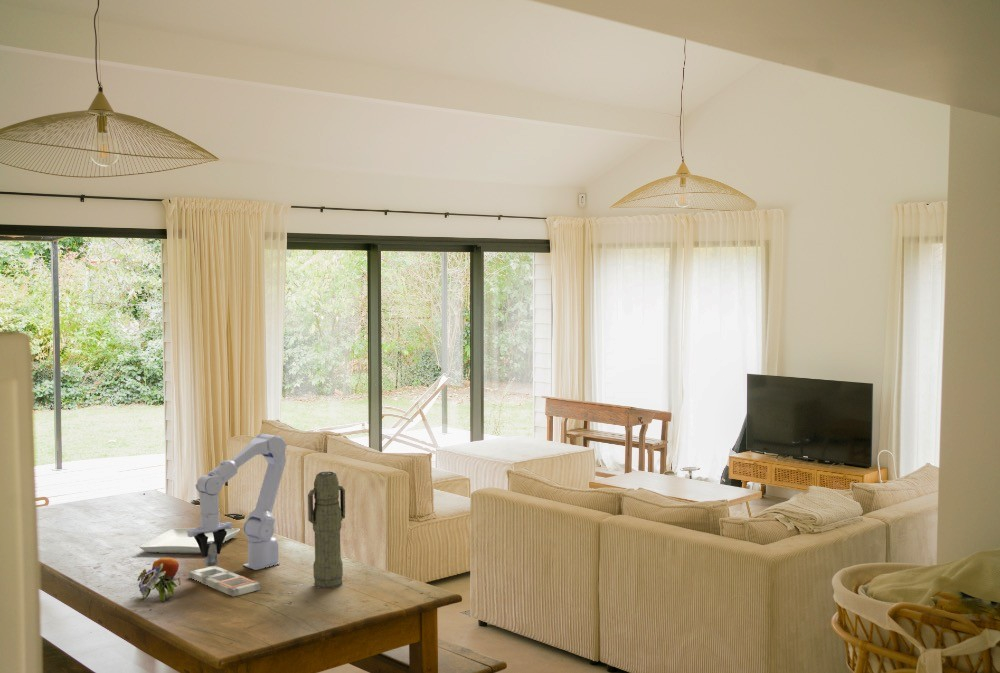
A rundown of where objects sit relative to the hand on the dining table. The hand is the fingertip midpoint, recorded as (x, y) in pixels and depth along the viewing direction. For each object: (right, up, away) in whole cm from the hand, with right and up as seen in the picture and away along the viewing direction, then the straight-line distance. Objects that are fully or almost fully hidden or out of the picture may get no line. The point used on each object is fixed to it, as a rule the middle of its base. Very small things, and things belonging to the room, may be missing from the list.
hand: (210, 554), depth 295 cm
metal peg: (0, -3, 0) cm, 3 cm away
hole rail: (+6, -8, -5) cm, 11 cm away
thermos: (+39, -8, -7) cm, 40 cm away
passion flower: (-10, -9, -17) cm, 22 cm away
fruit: (-15, -8, +1) cm, 17 cm away
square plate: (-20, -7, +41) cm, 46 cm away
